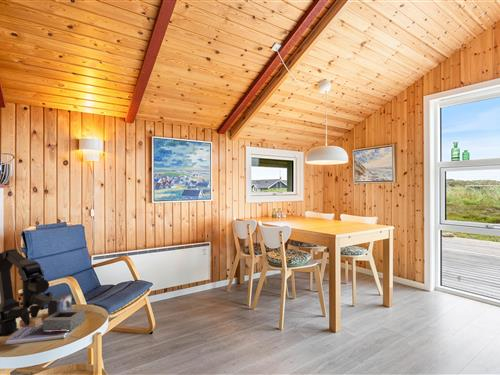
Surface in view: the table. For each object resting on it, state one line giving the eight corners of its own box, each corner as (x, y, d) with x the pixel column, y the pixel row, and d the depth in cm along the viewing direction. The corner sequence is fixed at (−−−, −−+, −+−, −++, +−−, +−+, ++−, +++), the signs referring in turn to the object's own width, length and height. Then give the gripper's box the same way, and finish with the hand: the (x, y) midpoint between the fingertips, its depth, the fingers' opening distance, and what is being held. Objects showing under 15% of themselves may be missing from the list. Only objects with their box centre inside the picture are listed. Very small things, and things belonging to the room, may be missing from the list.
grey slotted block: (42, 332, 143) (42, 320, 143) (59, 321, 155) (59, 310, 155) (70, 331, 142) (70, 319, 142) (84, 320, 154) (84, 309, 154)
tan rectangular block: (19, 327, 132) (19, 320, 132) (26, 323, 136) (26, 317, 136) (35, 327, 131) (35, 321, 131) (41, 324, 135) (41, 317, 135)
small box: (57, 319, 157) (56, 300, 157) (47, 318, 158) (46, 299, 158) (72, 311, 167) (72, 293, 167) (63, 310, 168) (62, 292, 169)
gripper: (31, 297, 124) (32, 332, 124) (60, 283, 143) (61, 314, 143) (6, 297, 124) (7, 333, 124) (38, 283, 143) (39, 314, 143)
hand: (30, 323), depth 134 cm, fingers closed on tan rectangular block, 4 cm apart
